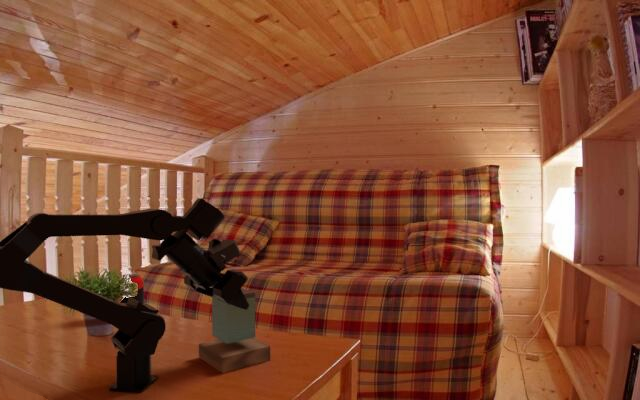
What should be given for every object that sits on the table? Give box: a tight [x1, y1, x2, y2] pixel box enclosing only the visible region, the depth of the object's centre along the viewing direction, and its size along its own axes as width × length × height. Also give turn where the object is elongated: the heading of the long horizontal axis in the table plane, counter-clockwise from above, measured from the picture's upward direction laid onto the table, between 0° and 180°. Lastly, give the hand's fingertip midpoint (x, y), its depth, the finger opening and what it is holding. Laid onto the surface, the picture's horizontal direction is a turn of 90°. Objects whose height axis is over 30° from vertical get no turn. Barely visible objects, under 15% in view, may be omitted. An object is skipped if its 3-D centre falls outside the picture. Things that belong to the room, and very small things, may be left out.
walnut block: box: [198, 338, 271, 374], centre depth 97 cm, size 11×11×3 cm
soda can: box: [120, 273, 145, 304], centre depth 130 cm, size 8×8×12 cm
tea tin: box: [211, 287, 256, 344], centre depth 97 cm, size 7×7×10 cm
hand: (239, 304), depth 98 cm, fingers closed on tea tin, 7 cm apart
